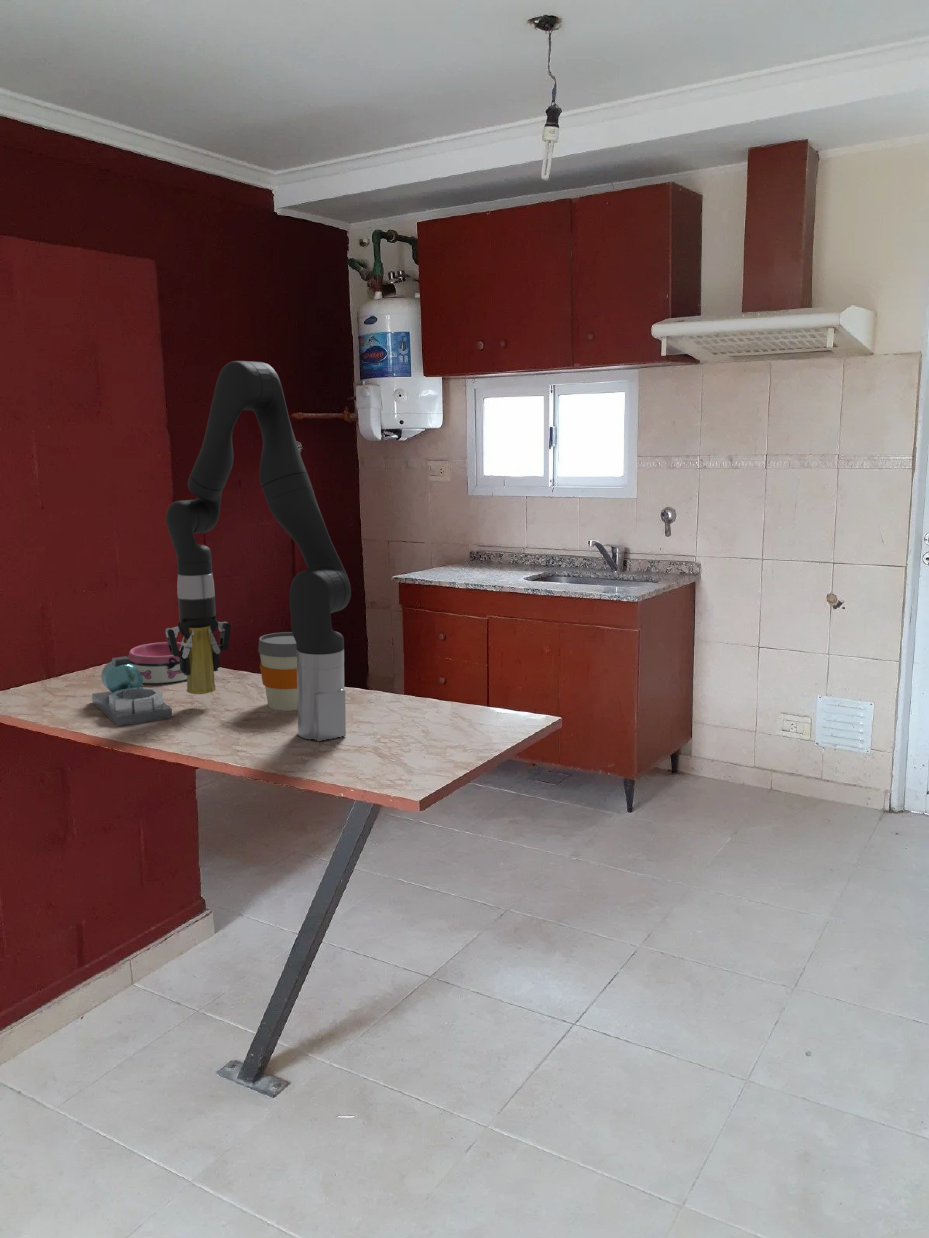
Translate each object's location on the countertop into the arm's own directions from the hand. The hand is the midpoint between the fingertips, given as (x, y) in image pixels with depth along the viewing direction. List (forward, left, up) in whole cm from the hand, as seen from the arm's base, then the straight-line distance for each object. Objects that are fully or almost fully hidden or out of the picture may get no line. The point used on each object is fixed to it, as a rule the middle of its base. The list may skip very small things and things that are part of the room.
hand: (200, 672), depth 206 cm
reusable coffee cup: (-8, -17, -8) cm, 20 cm away
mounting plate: (+6, +13, -8) cm, 17 cm away
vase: (0, 0, -4) cm, 4 cm away
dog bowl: (+32, -2, -8) cm, 33 cm away
